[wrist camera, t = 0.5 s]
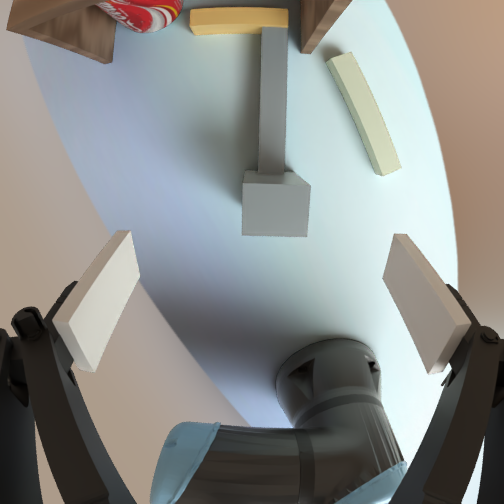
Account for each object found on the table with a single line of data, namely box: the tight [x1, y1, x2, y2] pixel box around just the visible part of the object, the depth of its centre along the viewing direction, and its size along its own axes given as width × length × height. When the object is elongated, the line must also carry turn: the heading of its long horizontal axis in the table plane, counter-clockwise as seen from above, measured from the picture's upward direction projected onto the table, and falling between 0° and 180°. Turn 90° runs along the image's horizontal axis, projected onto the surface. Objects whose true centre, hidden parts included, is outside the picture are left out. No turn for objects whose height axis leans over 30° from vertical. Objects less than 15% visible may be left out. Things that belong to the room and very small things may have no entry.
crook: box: [189, 7, 311, 237], centre depth 24 cm, size 21×10×9 cm, turn 179°
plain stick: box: [326, 52, 401, 176], centre depth 27 cm, size 13×2×2 cm, turn 26°
